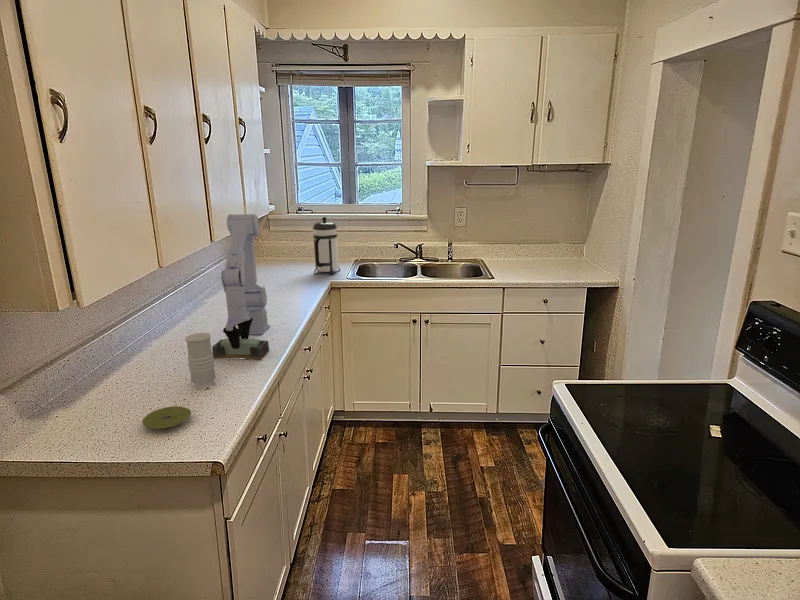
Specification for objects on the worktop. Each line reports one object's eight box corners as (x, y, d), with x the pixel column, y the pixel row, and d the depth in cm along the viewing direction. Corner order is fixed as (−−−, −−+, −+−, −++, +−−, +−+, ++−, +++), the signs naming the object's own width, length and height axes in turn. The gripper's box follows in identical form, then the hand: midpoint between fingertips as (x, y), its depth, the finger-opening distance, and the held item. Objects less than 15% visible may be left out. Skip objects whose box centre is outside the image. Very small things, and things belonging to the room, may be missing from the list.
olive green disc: (178, 408, 141) (177, 401, 140) (200, 422, 134) (199, 415, 133) (135, 425, 133) (134, 418, 132) (156, 440, 126) (155, 433, 125)
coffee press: (308, 271, 291) (304, 216, 282) (336, 268, 297) (333, 214, 289) (317, 278, 276) (313, 220, 267) (346, 274, 282) (343, 218, 274)
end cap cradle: (222, 350, 180) (221, 339, 179) (269, 351, 178) (268, 340, 177) (213, 358, 174) (211, 347, 172) (261, 359, 172) (260, 348, 171)
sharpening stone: (226, 349, 178) (225, 338, 177) (260, 350, 177) (259, 339, 176) (221, 354, 174) (220, 342, 173) (256, 355, 173) (255, 343, 172)
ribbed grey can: (210, 378, 159) (204, 330, 155) (220, 385, 154) (214, 337, 150) (188, 384, 155) (181, 336, 150) (197, 392, 150) (190, 343, 145)
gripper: (239, 311, 164) (243, 352, 168) (256, 298, 178) (260, 336, 181) (217, 311, 164) (222, 352, 168) (236, 298, 178) (240, 336, 182)
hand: (240, 344), depth 175 cm, fingers open, 7 cm apart
